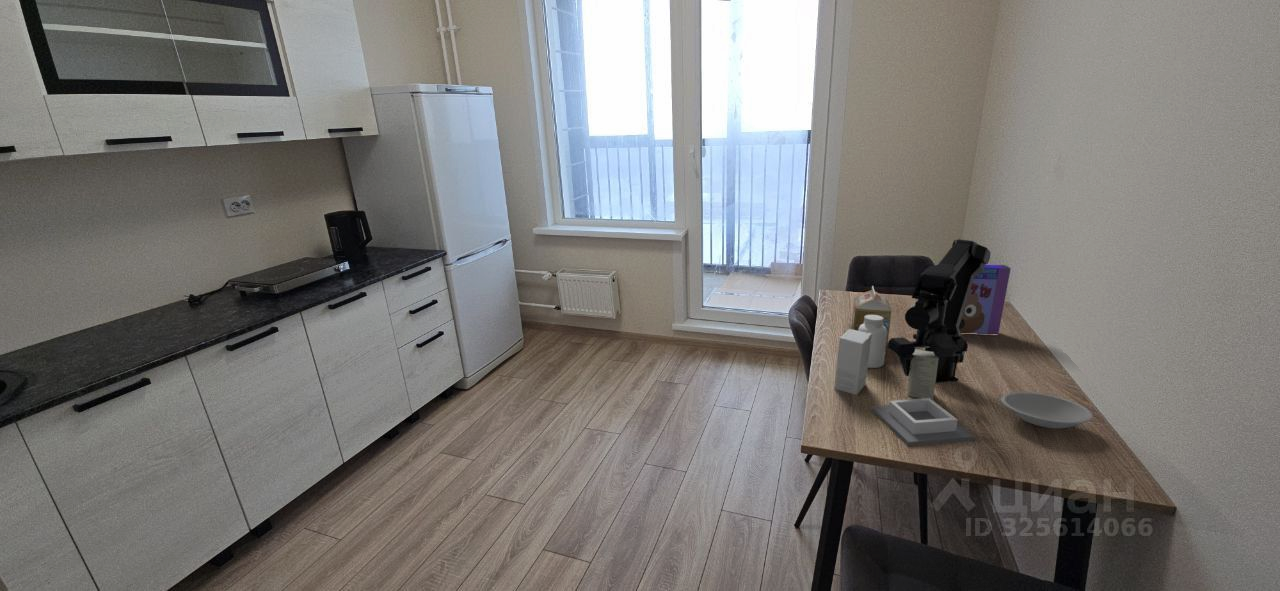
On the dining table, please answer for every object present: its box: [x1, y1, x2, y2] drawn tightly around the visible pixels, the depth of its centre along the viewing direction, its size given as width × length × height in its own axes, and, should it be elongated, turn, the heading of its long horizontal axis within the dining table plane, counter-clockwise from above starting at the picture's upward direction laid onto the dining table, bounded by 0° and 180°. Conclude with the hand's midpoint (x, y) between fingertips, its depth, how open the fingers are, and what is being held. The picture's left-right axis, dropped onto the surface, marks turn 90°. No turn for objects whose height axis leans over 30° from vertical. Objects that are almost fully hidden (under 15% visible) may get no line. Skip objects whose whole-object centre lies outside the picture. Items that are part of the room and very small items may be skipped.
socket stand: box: [871, 398, 976, 447], centre depth 126 cm, size 16×16×4 cm
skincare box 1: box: [833, 328, 872, 396], centre depth 144 cm, size 8×7×16 cm
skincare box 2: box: [907, 349, 939, 401], centre depth 139 cm, size 6×4×12 cm
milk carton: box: [850, 285, 892, 353], centre depth 171 cm, size 11×11×19 cm
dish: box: [1000, 391, 1094, 429], centre depth 124 cm, size 18×14×5 cm
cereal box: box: [959, 264, 1011, 335], centre depth 179 cm, size 17×5×24 cm, turn 80°
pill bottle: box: [858, 315, 887, 369], centre depth 158 cm, size 8×8×15 cm
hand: (923, 374), depth 139 cm, fingers open, 9 cm apart
